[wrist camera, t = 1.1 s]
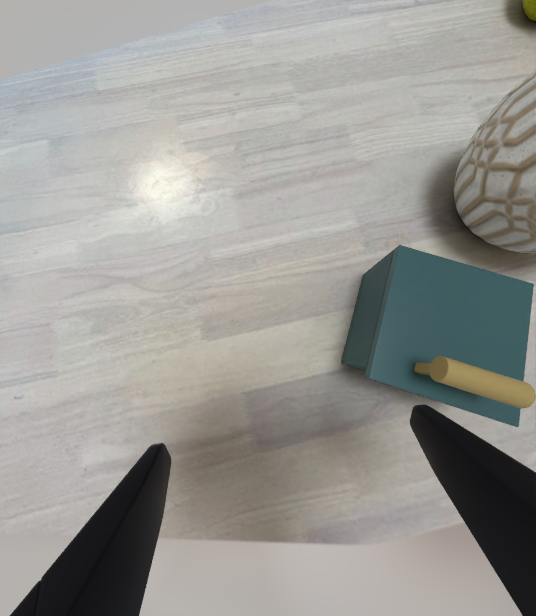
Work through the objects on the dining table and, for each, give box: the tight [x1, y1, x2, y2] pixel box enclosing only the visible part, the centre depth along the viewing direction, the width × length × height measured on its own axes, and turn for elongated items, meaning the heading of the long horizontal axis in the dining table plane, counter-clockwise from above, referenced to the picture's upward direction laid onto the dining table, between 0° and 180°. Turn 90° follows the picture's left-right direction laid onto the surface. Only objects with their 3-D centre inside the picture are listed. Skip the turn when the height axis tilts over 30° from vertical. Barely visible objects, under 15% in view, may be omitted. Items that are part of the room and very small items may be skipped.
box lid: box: [365, 245, 535, 427], centre depth 16 cm, size 11×11×4 cm
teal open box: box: [341, 250, 394, 371], centre depth 21 cm, size 10×11×6 cm
